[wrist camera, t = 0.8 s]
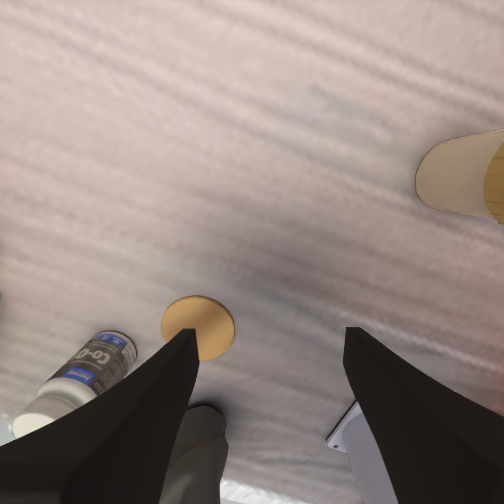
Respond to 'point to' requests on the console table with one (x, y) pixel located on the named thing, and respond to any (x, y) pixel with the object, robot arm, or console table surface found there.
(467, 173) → the jar
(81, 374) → the pill bottle
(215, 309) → the coaster
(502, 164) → the lid
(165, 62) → the console table surface
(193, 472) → the figurine
